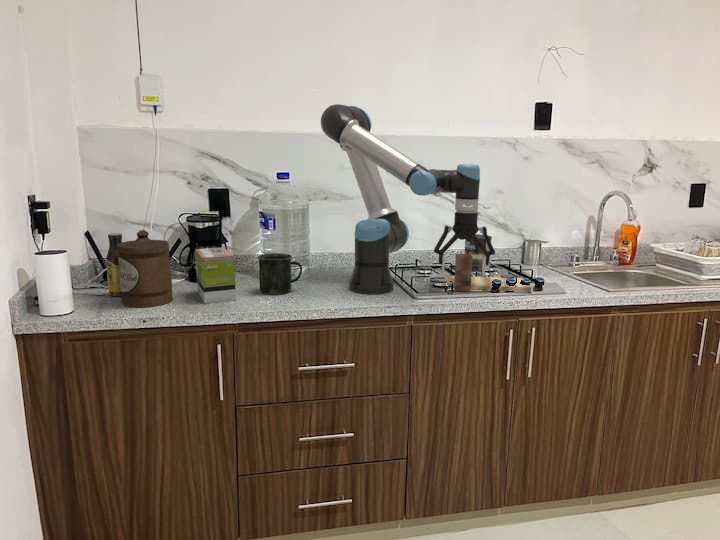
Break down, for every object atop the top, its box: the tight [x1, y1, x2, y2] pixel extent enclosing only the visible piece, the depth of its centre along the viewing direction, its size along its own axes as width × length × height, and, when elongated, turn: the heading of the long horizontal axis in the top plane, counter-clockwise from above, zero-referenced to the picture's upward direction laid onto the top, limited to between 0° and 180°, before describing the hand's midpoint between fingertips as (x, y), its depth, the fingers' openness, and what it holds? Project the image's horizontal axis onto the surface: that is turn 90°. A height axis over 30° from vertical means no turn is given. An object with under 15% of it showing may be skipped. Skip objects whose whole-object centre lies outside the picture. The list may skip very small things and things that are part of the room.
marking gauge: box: [454, 253, 472, 292], centre depth 195 cm, size 5×13×12 cm, turn 176°
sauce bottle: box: [105, 232, 123, 297], centre depth 179 cm, size 6×6×20 cm
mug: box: [257, 252, 303, 296], centre depth 187 cm, size 11×15×12 cm
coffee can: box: [463, 233, 493, 272], centre depth 222 cm, size 10×10×14 cm
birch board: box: [444, 275, 532, 294], centre depth 198 cm, size 28×14×2 cm, turn 86°
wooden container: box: [117, 229, 174, 308], centre depth 172 cm, size 15×15×22 cm
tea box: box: [194, 246, 237, 304], centre depth 179 cm, size 15×10×15 cm
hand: (462, 274), depth 191 cm, fingers open, 13 cm apart
